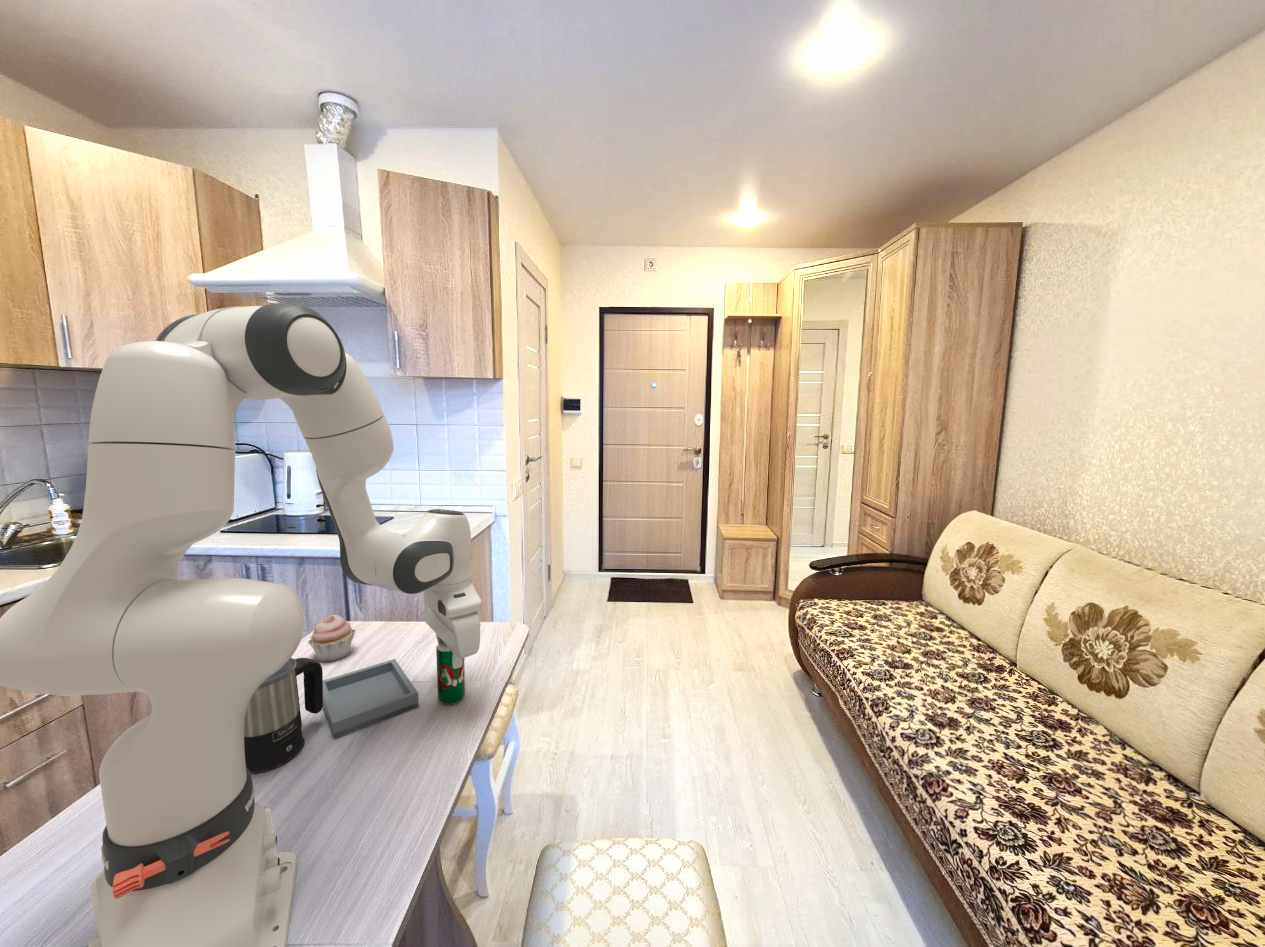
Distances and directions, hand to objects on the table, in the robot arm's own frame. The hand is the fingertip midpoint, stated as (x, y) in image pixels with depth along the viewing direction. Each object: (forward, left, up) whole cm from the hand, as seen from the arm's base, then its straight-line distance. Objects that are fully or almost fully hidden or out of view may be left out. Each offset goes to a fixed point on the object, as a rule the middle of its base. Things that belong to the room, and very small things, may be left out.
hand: (450, 659), depth 93 cm
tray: (+9, +13, -8) cm, 18 cm away
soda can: (0, 0, -8) cm, 8 cm away
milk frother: (+8, +29, -9) cm, 31 cm away
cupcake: (+33, +15, -9) cm, 37 cm away
